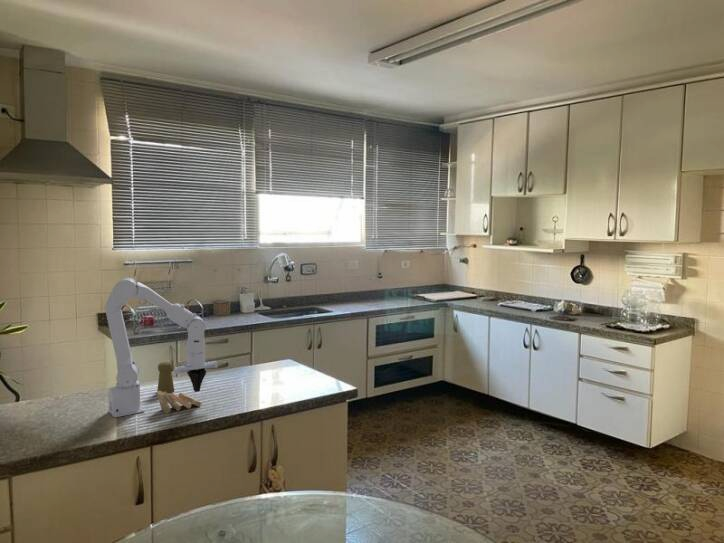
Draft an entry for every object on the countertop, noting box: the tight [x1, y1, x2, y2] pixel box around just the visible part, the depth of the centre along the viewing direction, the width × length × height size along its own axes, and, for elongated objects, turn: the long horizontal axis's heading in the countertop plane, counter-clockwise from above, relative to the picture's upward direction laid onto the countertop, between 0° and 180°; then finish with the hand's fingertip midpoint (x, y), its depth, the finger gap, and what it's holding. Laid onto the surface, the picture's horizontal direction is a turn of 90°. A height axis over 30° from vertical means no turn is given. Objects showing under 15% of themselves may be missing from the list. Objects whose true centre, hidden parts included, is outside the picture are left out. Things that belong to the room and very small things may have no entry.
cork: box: [156, 361, 175, 394], centre depth 202 cm, size 6×6×11 cm
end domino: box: [177, 392, 202, 408], centre depth 187 cm, size 1×5×6 cm
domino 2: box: [170, 392, 193, 410], centre depth 185 cm, size 1×5×6 cm
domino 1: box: [155, 391, 172, 414], centre depth 181 cm, size 1×5×6 cm, turn 39°
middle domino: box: [163, 391, 182, 412], centre depth 183 cm, size 1×5×6 cm
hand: (196, 390), depth 188 cm, fingers closed
